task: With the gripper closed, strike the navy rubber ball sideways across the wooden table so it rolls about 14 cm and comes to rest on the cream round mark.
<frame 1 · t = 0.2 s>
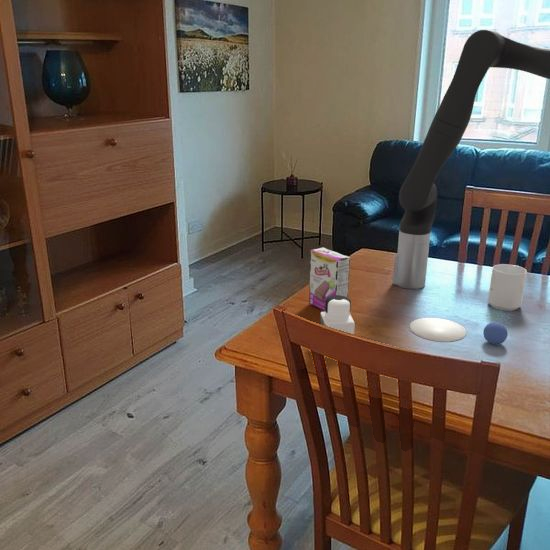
ball: (495, 333, 136), on the table
mug: (502, 304, 161), on the table
candy bar box: (327, 309, 157), on the table
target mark: (437, 329, 144), on the table
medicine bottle: (335, 344, 136), on the table
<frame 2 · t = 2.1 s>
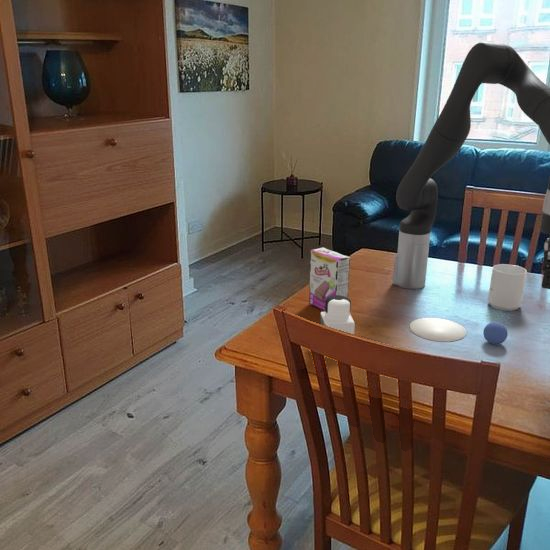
hand: (547, 286, 126), 17 cm above the table, tool pointing down, fingers closed
nothing on the table moved.
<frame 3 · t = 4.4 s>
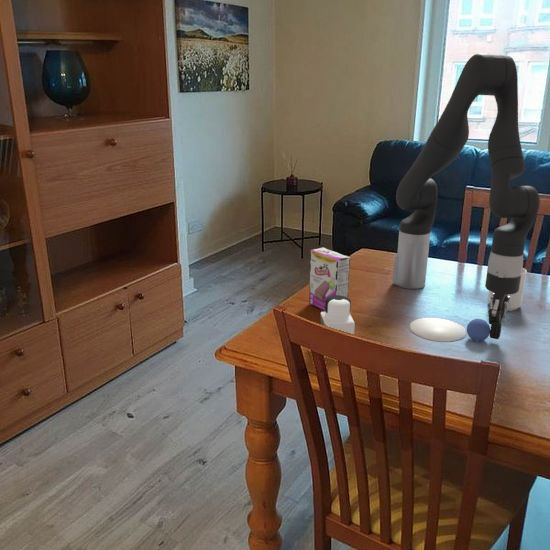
hand: (494, 337, 137), 1 cm above the table, tool pointing down, fingers closed
ball: (478, 329, 138), on the table, touching gripper
everything else where it was.
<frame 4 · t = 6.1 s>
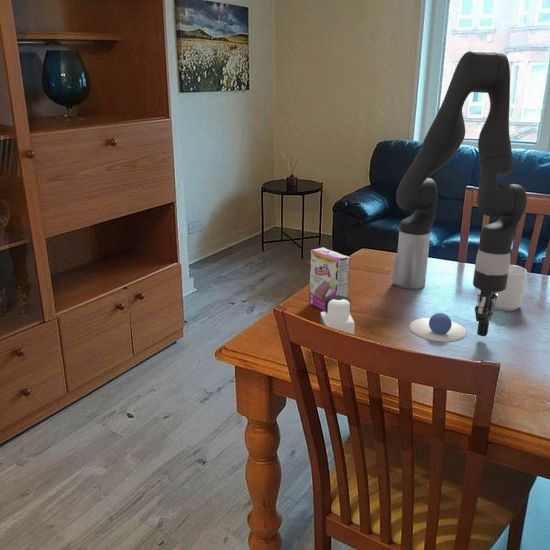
hand: (482, 334, 138), 2 cm above the table, tool pointing down, fingers closed
ball: (440, 323, 141), on the table
everything else where it was.
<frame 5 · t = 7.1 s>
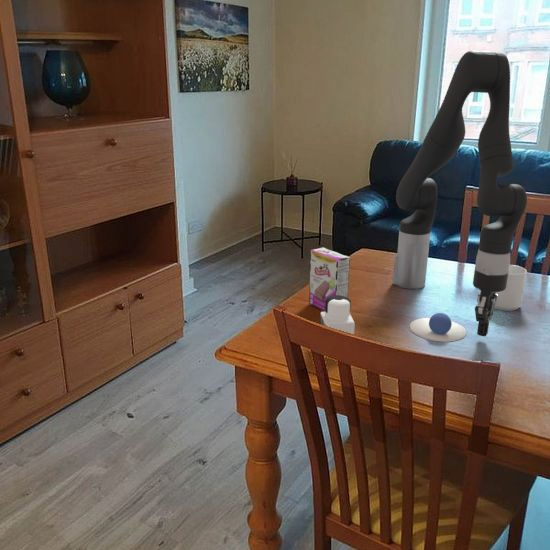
hand: (482, 334, 138), 2 cm above the table, tool pointing down, fingers closed
nothing on the table moved.
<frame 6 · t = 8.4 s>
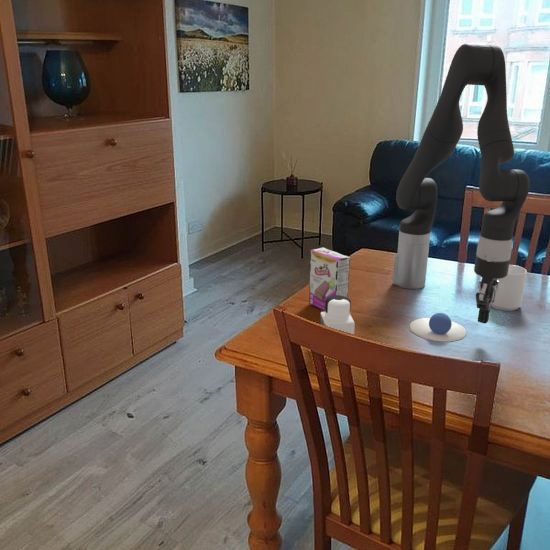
hand: (482, 321, 137), 5 cm above the table, tool pointing down, fingers closed
nothing on the table moved.
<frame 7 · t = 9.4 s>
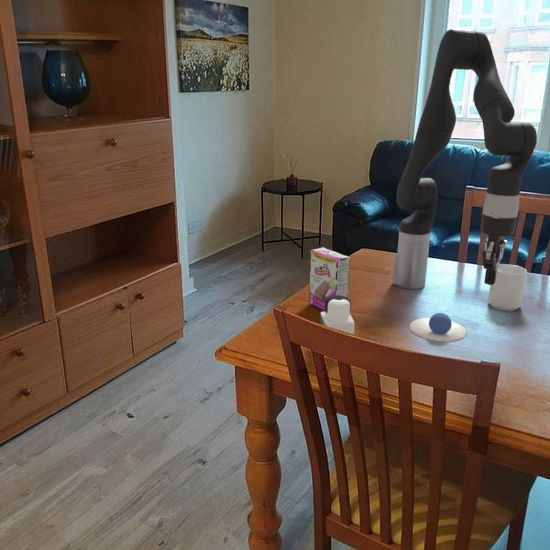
hand: (489, 283, 134), 15 cm above the table, tool pointing down, fingers closed
nothing on the table moved.
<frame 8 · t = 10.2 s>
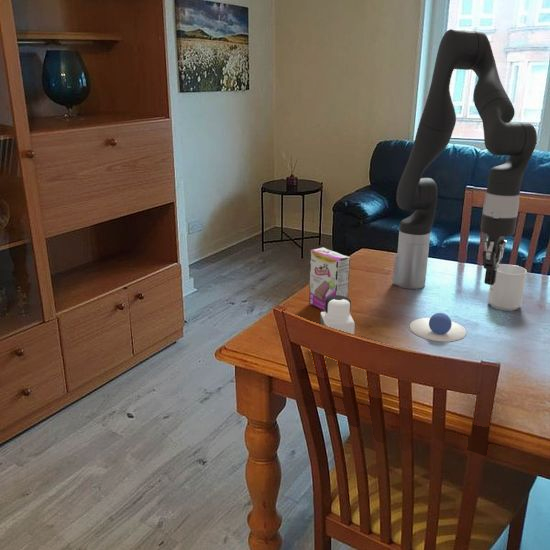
hand: (489, 283, 134), 15 cm above the table, tool pointing down, fingers closed
nothing on the table moved.
at the end: ball 2.4 cm from the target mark (horizontally); ball at rest at the end (0.0 cm/s); ball moved 13.1 cm from its start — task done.
